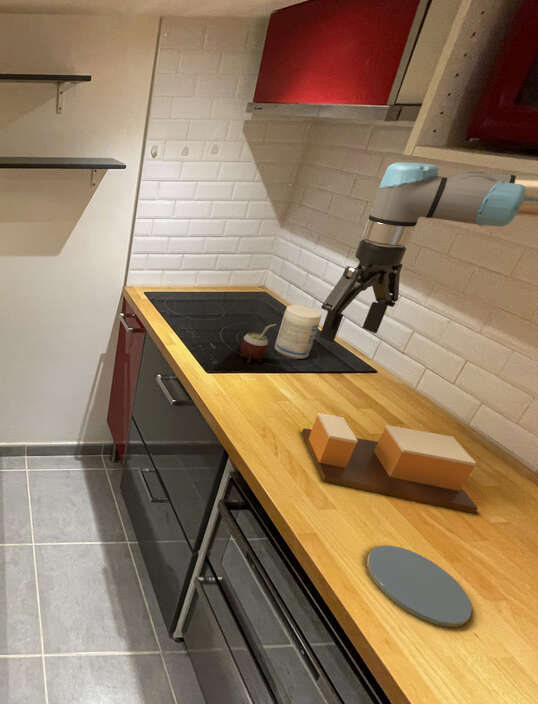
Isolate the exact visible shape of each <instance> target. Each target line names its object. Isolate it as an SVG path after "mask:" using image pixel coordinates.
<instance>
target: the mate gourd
mask: <svg viewBox="0 0 538 704" xmlns="http://www.w3.org/2000/svg"><path fill="white" fill-rule="evenodd" d="M277 325H278V324H277V323H274V324H269V325H267V326H265V328H264V330H263V331H262V333H259V332H254V331H253V332H247V333H246V334H245V336H243V339H242V340H241V344H240V354H239V356H240V357H242V358H245V359H247V361H246V363H247V364H251V362H252V361H255V362H258V363H262V362H263V359H264V357H265V356H266V354H267V351H268V348H269V341H268V338H267V336H265V333H267V331H268V330H269V329H270V328H272V327H275V326H277Z"/></svg>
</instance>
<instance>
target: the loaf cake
mask: <svg viewBox="0 0 538 704" xmlns="http://www.w3.org/2000/svg"><path fill="white" fill-rule="evenodd" d="M377 442H378V443H377V445H376V448H375V450H374V452H375V454H376V456H377V457H378V459H379V460H380V462H381V464H382V465H383V467H384V468H385V470H386V471H387V473H388V475H389V476H390V477H392V478H397V479H402V480H407V481H412V482H417V483H422V484H427V485H432V486H437V487H442V488H447V489H452V490H457V491H460V490H461V488H463V487H464V485H465V483H466V481H467V480H468V478H469V477H470V475H471V473H472V472H473V470H474V468H475V466H476V465H477V461H475V459H473V457H472V456H471V455H470V454H469V453H468V452H467V451H466V449H465V448H463V446H462V445H461V444H460V443H459V442H458V440H457V439H456V438H455V437H454V436H452V435H445V434H440V433H436V432H435V433H434V432H429V431H423V430H417V429H413V428H412V429H411V428H405V427H400V426H395V425H388V424H385V427H384V428H383V431H382V432H381V434H380V437H379V439H378V441H377Z"/></svg>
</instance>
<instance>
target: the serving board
mask: <svg viewBox="0 0 538 704" xmlns="http://www.w3.org/2000/svg"><path fill="white" fill-rule="evenodd" d="M311 431H312V428H311V429H310V428H305V427H303V428H302V431H301V435H302V437H303V439H304V442H305V444H306V447H307V449H308V450H309V453H310V455H311V458H312V459H313V462H314V464H315V466H316V468H317V471H318V474H319V475H320V477H321V480H322V482H325V483H329V484H334V485H338V486H343V487H348V488H352V489H357V490H363V491H367V492H371V493H377V494H381V495H386V496H389V497H395V498H400V499H404V500H408V501H409V500H410V501H415V502H419V503H424V504H427V505H433V506H438V507H441V508H442V507H443V508H447V509H452V510H456V511H462V512H466V513H472V514H476V512H477V511H478V509H479V507H478V506H477V505H476V503H475V502H474V501H473V500H472V498H471V497H470V496H469V495H468V494H467V492H466V491H465V489H464V488H463V487H462V488H461V490H460V491H457V490H452V489H447V488H442V487H437V486H432V485H427V484H422V483H417V482H412V481H407V480H402V479H397V478H392V477H390V476H389V475H388V473H387V471H386V470H385V468H384V467H383V465H382V464H381V462H380V460H379V459H378V457H377V456H376V454H375V452H374V450H375V448H376V445H377V443H378V441H374V440H370V439H365V438H359V437H356V439H357V440H358V441H357V443H356V446H355V448H354V450H353V453H352V455H351V457H350V459H349V462H348V464H347V466H346V468H343V467H338V466H334V465H329V464H324V463H319V461H318V459H317V456H316V454H315V452H314V450H313V448H312V445H311V443H310V441H309V436H310V433H311Z"/></svg>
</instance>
